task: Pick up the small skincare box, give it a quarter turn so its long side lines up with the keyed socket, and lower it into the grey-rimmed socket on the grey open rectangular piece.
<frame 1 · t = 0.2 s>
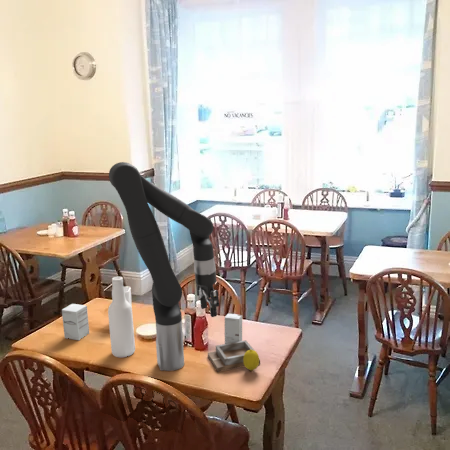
hand: (208, 312, 188), 18 cm above the table, tool pointing down, fingers open, 8 cm apart
grey open rectangular piece: (233, 359, 189), on the table
alcohol: (123, 353, 197), on the table
supplement box: (77, 336, 213), on the table
lemon: (251, 371, 181), on the table
skincare box: (233, 345, 200), on the table
cup: (124, 322, 225), on the table
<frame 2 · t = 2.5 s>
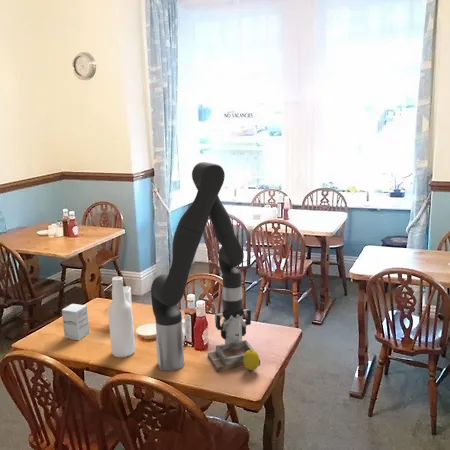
hand: (233, 336, 199), 3 cm above the table, tool pointing down, fingers closed on skincare box, 7 cm apart
skincare box: (234, 345, 200), on the table, touching gripper
everything else where it was.
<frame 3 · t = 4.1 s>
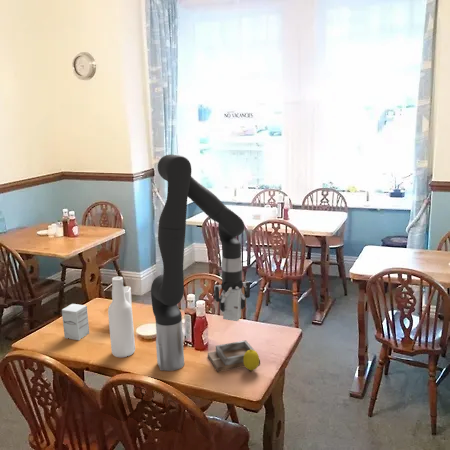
hand: (232, 309, 197), 15 cm above the table, tool pointing down, fingers closed on skincare box, 7 cm apart
skincare box: (232, 318, 197), point 11 cm above the table, touching gripper
everything else where it was.
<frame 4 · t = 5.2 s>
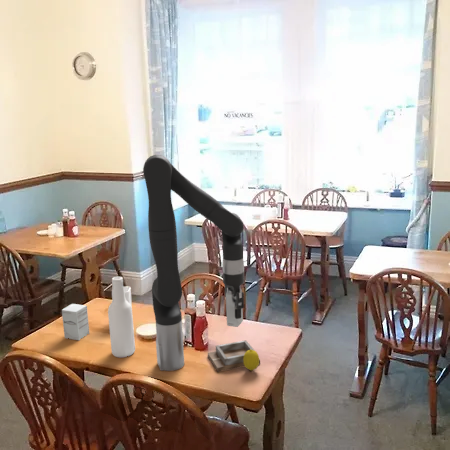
hand: (234, 314, 185), 18 cm above the table, tool pointing down, fingers closed on skincare box, 7 cm apart
skincare box: (234, 323, 186), point 14 cm above the table, touching gripper
everything else where it was.
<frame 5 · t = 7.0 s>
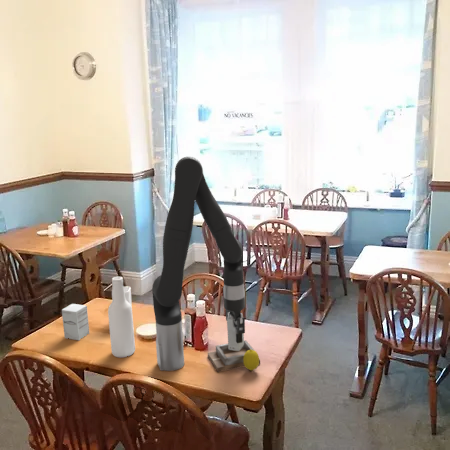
hand: (235, 338, 187), 8 cm above the table, tool pointing down, fingers closed on skincare box, 7 cm apart
skincare box: (236, 347, 188), point 5 cm above the table, touching gripper
everything else where it was.
when the fingers open (6 cm above the table, at t = 8.1 s): skincare box stays where it is, resting on grey open rectangular piece.
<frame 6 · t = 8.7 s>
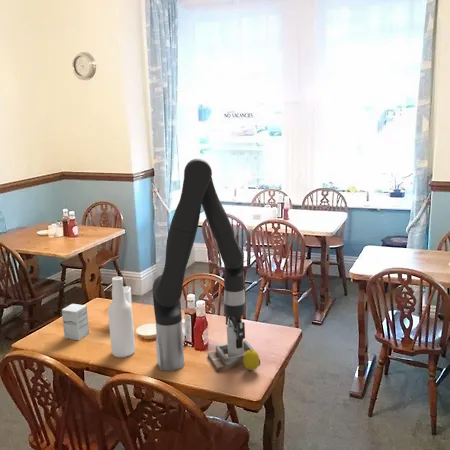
hand: (235, 342, 187), 7 cm above the table, tool pointing down, fingers open, 8 cm apart
skincare box: (235, 355, 189), point 1 cm above the table, touching gripper, grey open rectangular piece
everything else where it was.
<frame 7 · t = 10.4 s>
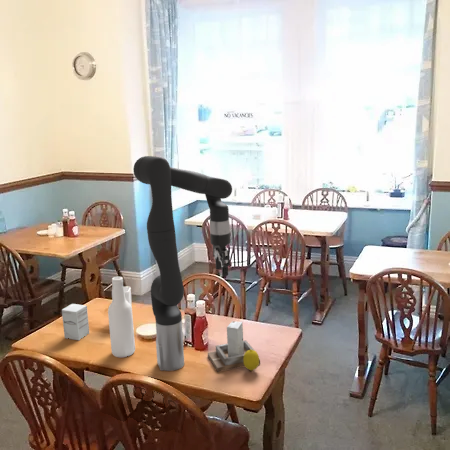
hand: (221, 272, 199), 28 cm above the table, tool pointing down, fingers open, 8 cm apart
skincare box: (235, 355, 189), point 1 cm above the table, touching grey open rectangular piece
everything else where it was.
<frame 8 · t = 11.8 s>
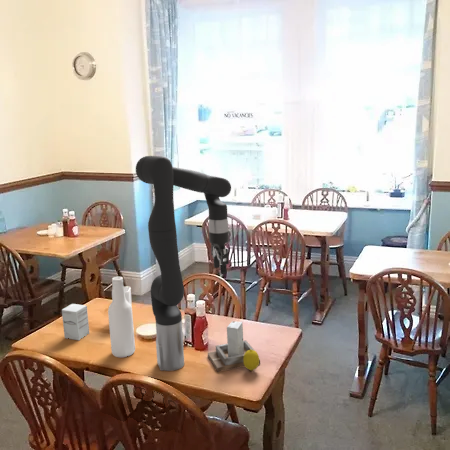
hand: (220, 270, 200), 28 cm above the table, tool pointing down, fingers open, 8 cm apart
nothing on the table moved.
at the end: skincare box inside the target area on the grey open rectangular piece (0.3 cm from its centre), point 1.3 cm above the grey open rectangular piece's base; skincare box tilted 0°; the gripper is holding nothing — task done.
